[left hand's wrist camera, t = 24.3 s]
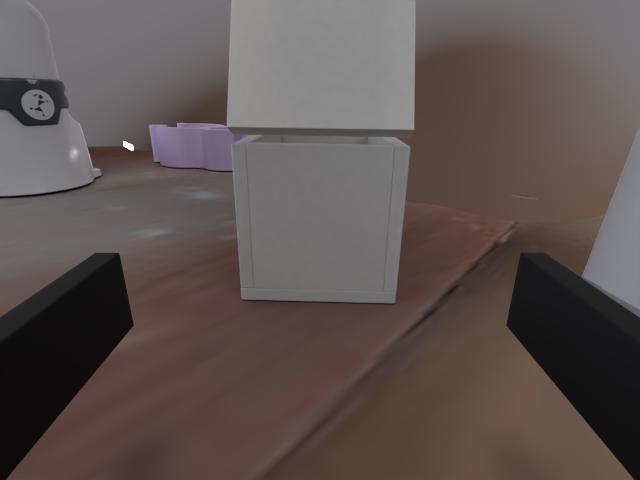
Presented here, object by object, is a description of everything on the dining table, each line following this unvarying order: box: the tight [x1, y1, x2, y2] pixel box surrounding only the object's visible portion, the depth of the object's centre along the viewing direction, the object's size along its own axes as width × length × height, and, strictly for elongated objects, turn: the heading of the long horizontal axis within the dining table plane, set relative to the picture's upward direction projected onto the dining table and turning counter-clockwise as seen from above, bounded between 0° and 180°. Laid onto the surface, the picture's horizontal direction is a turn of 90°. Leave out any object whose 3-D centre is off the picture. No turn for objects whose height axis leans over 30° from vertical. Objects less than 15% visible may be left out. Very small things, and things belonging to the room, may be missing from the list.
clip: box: [149, 123, 249, 171], centre depth 72 cm, size 20×12×7 cm, turn 59°
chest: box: [231, 135, 410, 304], centre depth 31 cm, size 17×10×10 cm, turn 178°
